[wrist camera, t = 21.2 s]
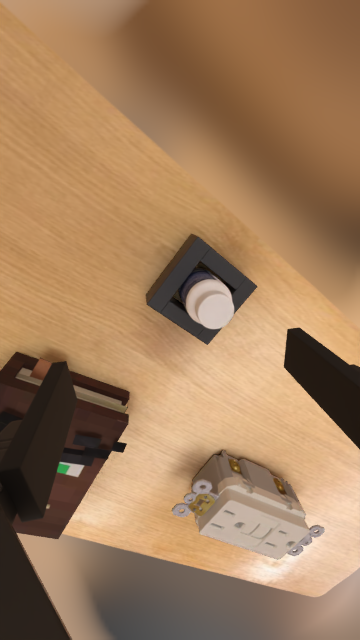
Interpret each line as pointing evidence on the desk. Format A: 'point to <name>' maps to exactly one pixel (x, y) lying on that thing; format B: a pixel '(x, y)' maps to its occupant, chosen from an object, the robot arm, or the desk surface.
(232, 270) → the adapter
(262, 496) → the electrical outlet
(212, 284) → the pill bottle
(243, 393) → the desk surface
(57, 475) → the decorative book
